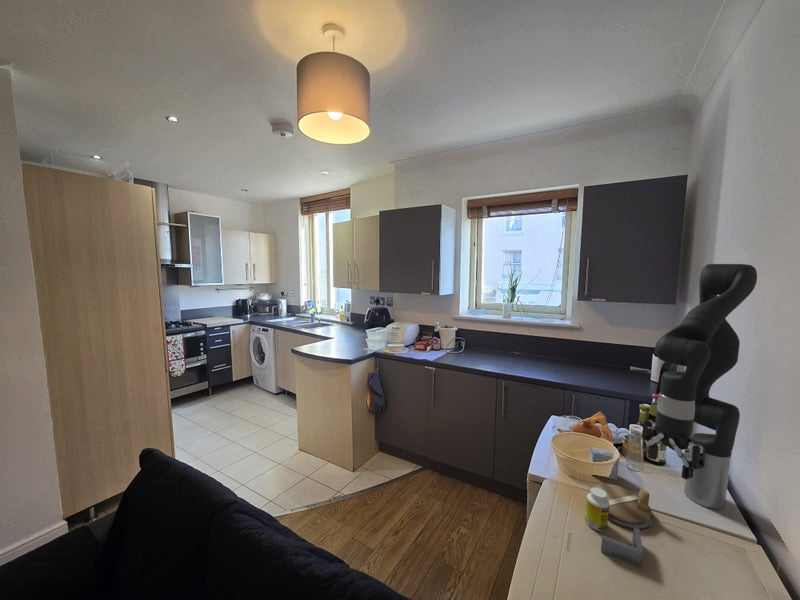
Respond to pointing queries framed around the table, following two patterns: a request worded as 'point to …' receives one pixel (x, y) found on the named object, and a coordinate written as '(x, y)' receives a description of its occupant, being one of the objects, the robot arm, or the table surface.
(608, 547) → the centring stop
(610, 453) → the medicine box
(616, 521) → the base
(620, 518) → the disc
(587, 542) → the table surface
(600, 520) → the supplement bottle
